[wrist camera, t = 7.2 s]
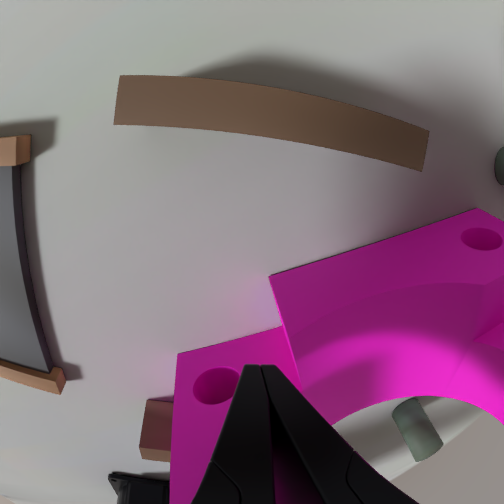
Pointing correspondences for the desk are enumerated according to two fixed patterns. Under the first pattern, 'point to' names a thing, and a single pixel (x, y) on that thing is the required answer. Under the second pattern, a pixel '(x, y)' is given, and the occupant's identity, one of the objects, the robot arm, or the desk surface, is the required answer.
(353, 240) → the desk surface
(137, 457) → the desk surface
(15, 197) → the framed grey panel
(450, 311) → the magenta curved bracket
